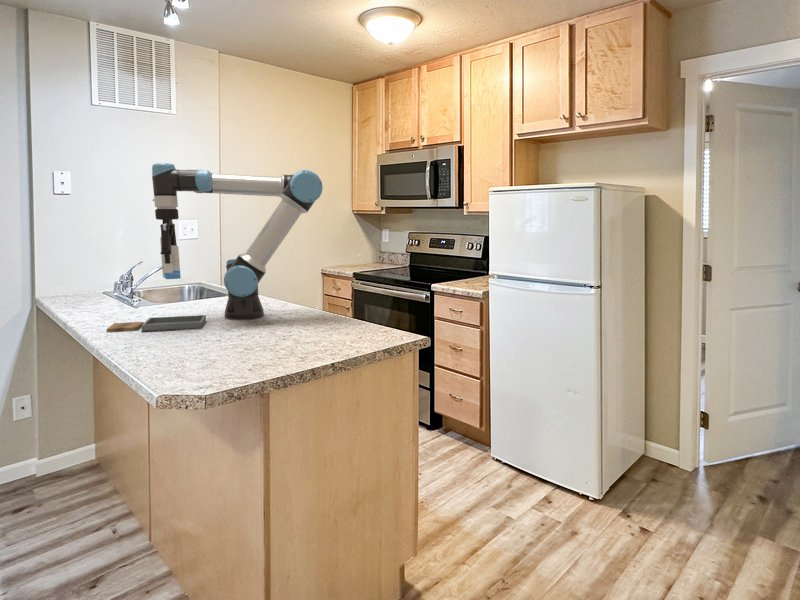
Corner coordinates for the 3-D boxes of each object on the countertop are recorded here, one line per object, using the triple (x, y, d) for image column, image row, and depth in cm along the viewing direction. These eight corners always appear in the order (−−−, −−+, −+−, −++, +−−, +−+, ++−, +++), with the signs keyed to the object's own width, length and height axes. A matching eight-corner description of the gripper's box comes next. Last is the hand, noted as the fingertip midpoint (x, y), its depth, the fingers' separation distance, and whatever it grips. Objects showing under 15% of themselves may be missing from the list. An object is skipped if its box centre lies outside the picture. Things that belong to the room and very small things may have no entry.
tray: (206, 321, 204) (205, 315, 203) (202, 329, 190) (201, 322, 190) (150, 324, 199) (149, 317, 199) (141, 332, 186) (141, 325, 185)
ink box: (181, 278, 190) (178, 237, 187) (166, 279, 187) (163, 237, 184) (176, 276, 197) (173, 236, 194) (162, 277, 194) (159, 236, 191)
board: (143, 324, 198) (143, 321, 198) (137, 330, 188) (137, 327, 188) (114, 326, 196) (114, 323, 195) (106, 332, 186) (106, 328, 186)
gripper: (161, 208, 197) (165, 268, 201) (148, 208, 176) (153, 275, 180) (182, 208, 199) (186, 267, 203) (172, 208, 178) (177, 274, 182)
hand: (171, 271), depth 191 cm, fingers closed on ink box, 9 cm apart
